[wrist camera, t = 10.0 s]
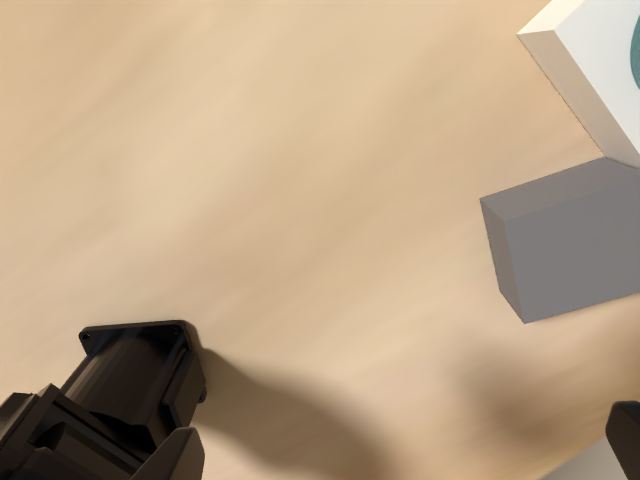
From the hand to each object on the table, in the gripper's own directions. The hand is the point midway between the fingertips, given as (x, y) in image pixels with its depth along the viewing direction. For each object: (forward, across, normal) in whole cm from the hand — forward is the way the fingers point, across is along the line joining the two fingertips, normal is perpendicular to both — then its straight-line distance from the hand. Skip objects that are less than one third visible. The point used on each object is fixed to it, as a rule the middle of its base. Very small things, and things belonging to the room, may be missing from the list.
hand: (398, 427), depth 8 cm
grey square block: (+13, -10, +2) cm, 17 cm away
